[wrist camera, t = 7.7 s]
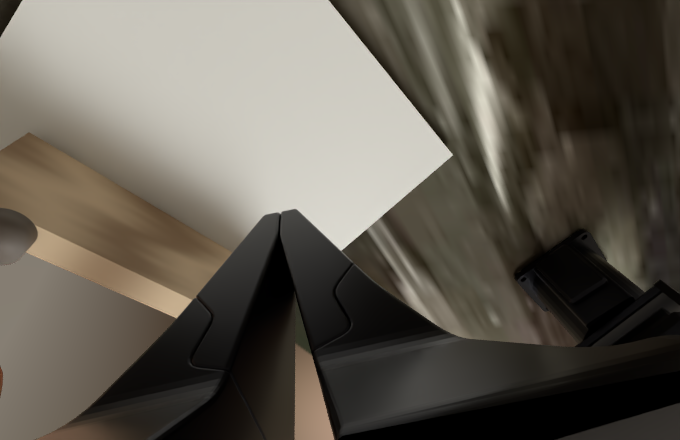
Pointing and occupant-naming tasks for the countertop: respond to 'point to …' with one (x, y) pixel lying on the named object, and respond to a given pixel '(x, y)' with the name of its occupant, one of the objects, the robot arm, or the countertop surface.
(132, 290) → the gate
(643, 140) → the countertop surface
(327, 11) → the white flat posted base
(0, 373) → the wooden figurine
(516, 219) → the countertop surface
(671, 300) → the robot arm
